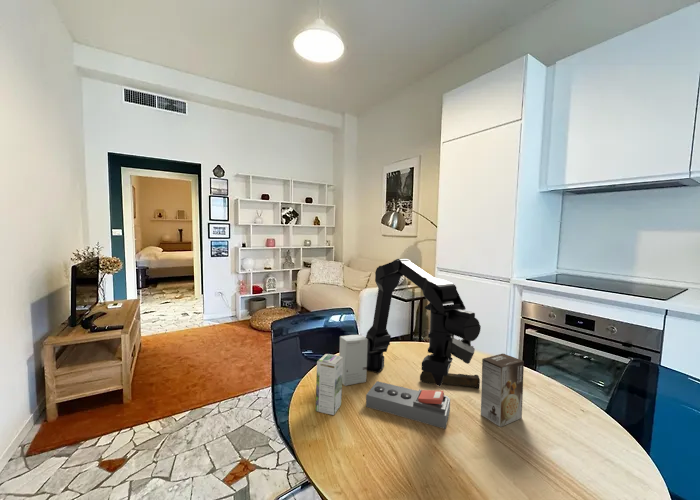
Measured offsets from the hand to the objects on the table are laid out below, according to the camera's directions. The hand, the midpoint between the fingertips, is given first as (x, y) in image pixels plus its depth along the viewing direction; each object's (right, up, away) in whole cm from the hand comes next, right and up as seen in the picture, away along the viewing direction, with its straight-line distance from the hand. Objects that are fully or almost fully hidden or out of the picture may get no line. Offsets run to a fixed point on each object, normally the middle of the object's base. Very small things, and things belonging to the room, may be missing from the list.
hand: (438, 385), depth 81 cm
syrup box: (-30, -8, +3) cm, 31 cm away
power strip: (-8, -8, +4) cm, 12 cm away
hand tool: (+9, -8, +18) cm, 22 cm away
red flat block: (-2, -4, +1) cm, 4 cm away
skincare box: (-23, -8, +20) cm, 32 cm away
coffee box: (+17, -9, +1) cm, 20 cm away
